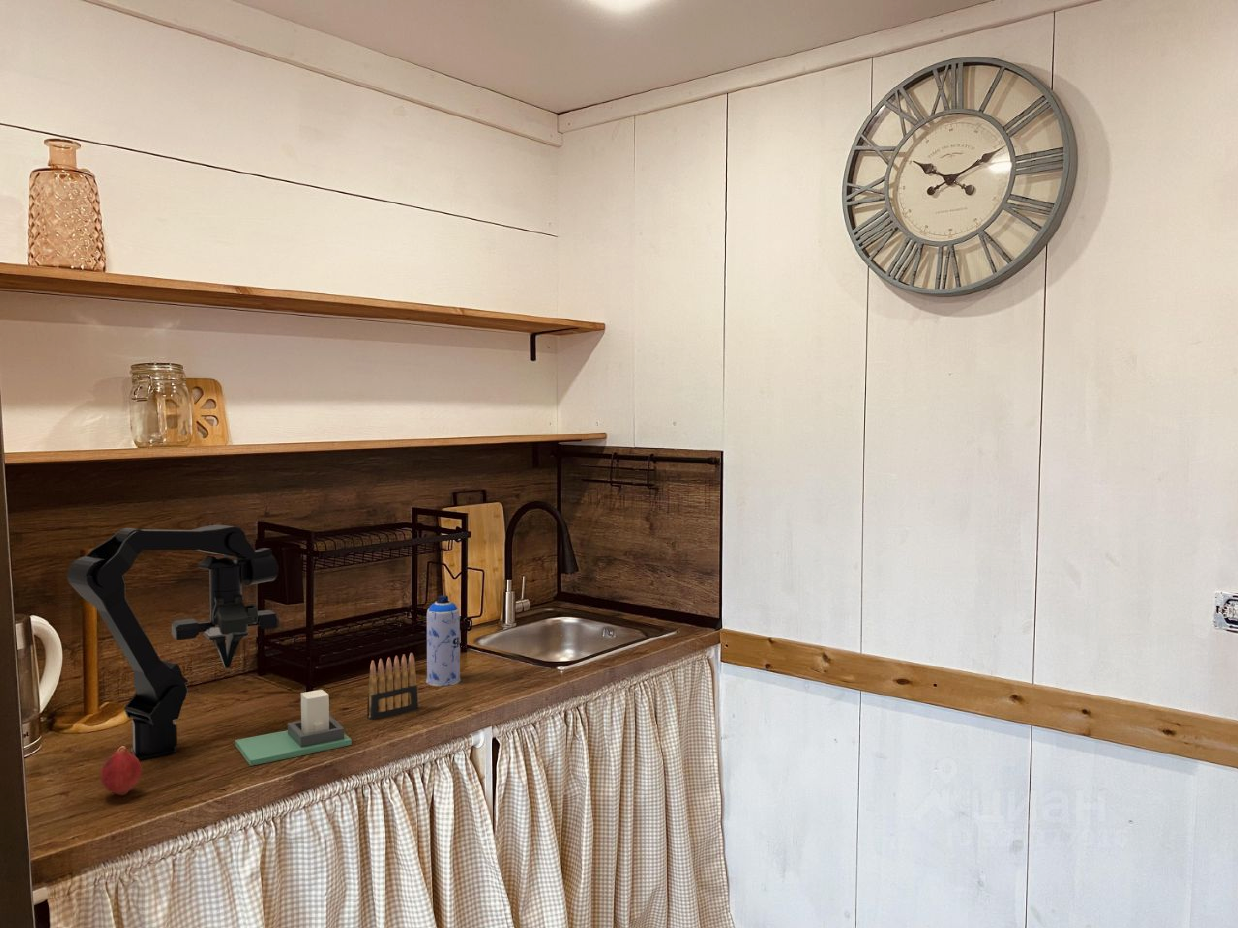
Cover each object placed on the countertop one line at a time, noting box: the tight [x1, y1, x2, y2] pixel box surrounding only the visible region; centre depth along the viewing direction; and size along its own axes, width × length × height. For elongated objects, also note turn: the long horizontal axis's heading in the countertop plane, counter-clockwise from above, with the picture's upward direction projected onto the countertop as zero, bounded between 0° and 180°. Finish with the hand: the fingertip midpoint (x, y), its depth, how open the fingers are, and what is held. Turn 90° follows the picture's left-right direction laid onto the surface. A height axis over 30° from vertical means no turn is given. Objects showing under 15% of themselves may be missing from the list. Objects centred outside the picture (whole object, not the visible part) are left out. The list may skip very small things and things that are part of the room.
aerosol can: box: [425, 594, 462, 687], centre depth 208 cm, size 8×8×20 cm
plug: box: [300, 689, 330, 734], centre depth 170 cm, size 4×7×8 cm, turn 36°
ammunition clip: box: [366, 652, 419, 721], centre depth 186 cm, size 11×2×12 cm, turn 132°
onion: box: [100, 745, 143, 796], centre depth 145 cm, size 6×6×8 cm
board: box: [234, 715, 353, 767], centre depth 168 cm, size 18×12×3 cm, turn 125°
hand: (227, 667), depth 176 cm, fingers closed
